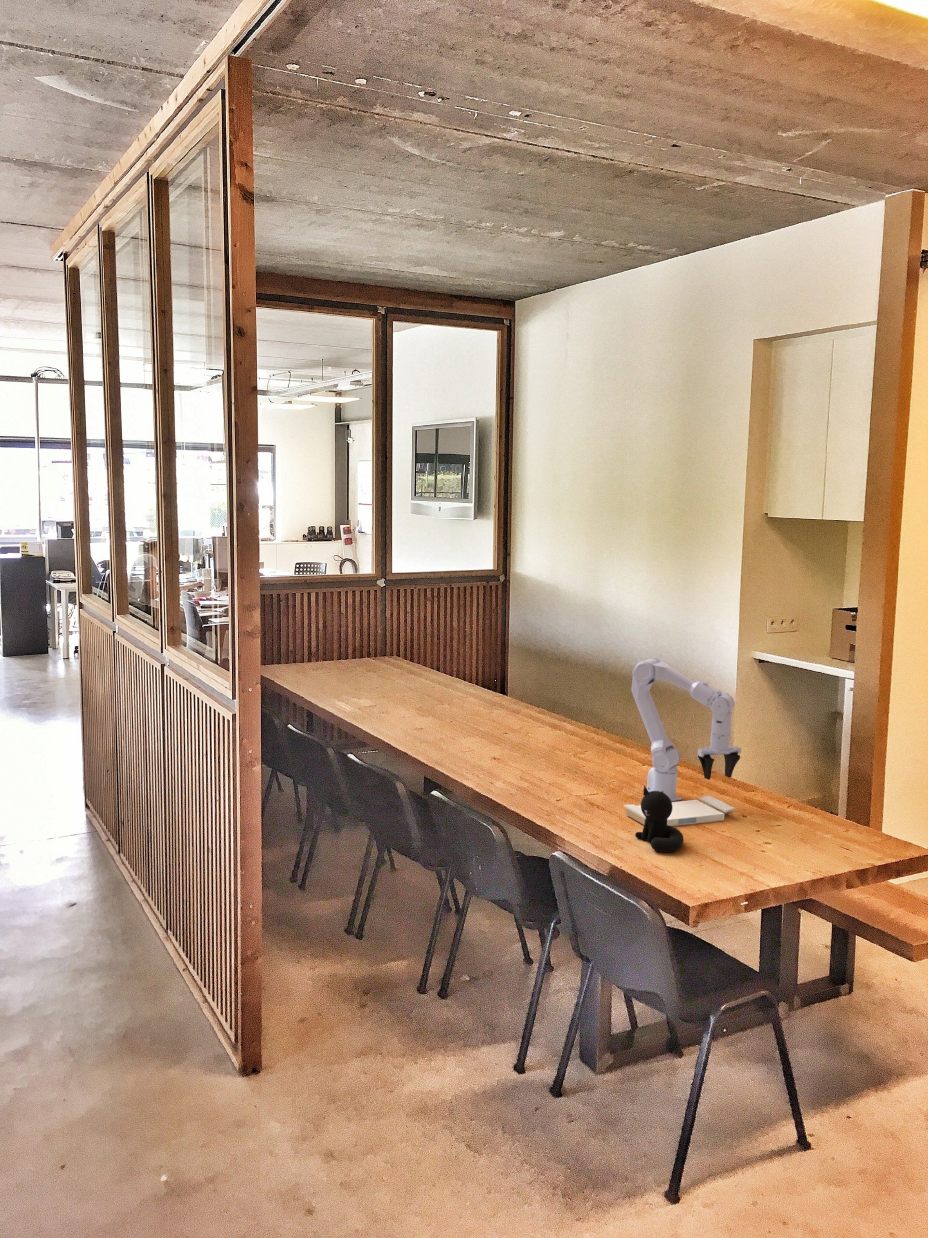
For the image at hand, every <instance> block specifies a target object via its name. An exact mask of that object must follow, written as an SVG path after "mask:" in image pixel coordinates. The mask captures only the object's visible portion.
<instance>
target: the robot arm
mask: <svg viewBox="0 0 928 1238" xmlns="http://www.w3.org/2000/svg"><path fill="white" fill-rule="evenodd" d="M631 674H632V680H631V688H630V691H631V694H632V696H633V699H634V701H635V704H636V707H637V709H638V712H639V714H640V718H641V719H642V722H643V725H644V727H645V729H646V732H647V735H648V738H649V740H650V742H651V745H650V753H651V758H652V761H651V763H652V764H651V765H652V766H653V767H651V768H650V769H649V770H648V772H647V779H646V780H647V781H646V788H647V790H648V792H651V791H660V792H662V791H663V793H665V794H666V795H667V796H668V797H669V798H670V800H671V802H677V801H682V797H680V796H677V787H678V786H677V785H678V783H677V781H678V770H679V769H678V767H677V765H678V764H679V763H680V762H681V753H680V751H679V749H678V748H676V747H675V745H674V743H673V741H672V740H671V739H669V737H668V736H667V733H666V730H665V727H664V724H663V722H662V720H661V717H660V714H659V711H658V710H657V707H656V704H655V702H654V699H653V696H652V694H651V691H650V690H651V688H652V686H653V685H654V682H656V681H660V680H661V681H662V680H667V681H668V682H670V683H672V684H674V685H676V686H679V687H680V688H682V689H684V690H686V691H687V692H688V693H689V697H691V698H692V699H694V700H695V701H696V702H699V703H700V704H702V705H704V706H705V707H707V708H710V710H711V712H712V719H711V728H710V740H709V741H710V743H709V746H706V747H704V748H703V747H701V748H698V749H697V758H698V760H699V762H700V765H701V767H702V772H703V776H704V777H703V778H704V779H706V780H711V777H712V769H713V765H714V762H715V759H714V758H712V756H720V755H723V756H724V757H723V758H724V776H725V777H726V778H729V779H730V778H732V775H733V772H734V770H735V767H736V765H737V764H738V762H739V761H740V759H741V755H740V754H742V746H741V747H740V746H738V745H734V746H733V745H730V744H731V731H732V711H733V709H734V708H735V700H734V697H732V696H731V695H730V694H729V693H726V692H725V693H724V692H723V691H721V690H719V689H718V690H717V689H715V688H713V687H712V686H710V685H708V684H709V683H708V681H700V680H698V681H693V680H692V679H690V678H689V677H688V676H686V675H684V674H682V673H681V672H680V671H678V670H677V669H675V668H673V667H672V666H670V665H669V664H667V663H666V662H664V661H661V660H660V659H658V658H657V657H650V658H648V659H645V660H642V661H639V662H637V664H635V666H634V668H633V670H632V671H631ZM722 692H723V693H722Z"/></svg>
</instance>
